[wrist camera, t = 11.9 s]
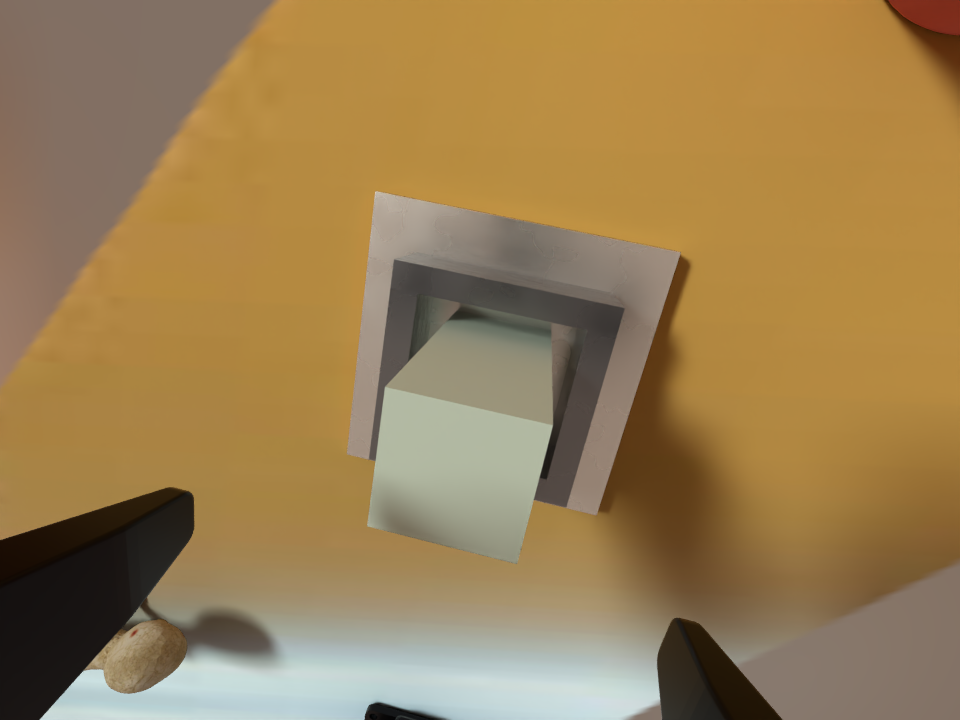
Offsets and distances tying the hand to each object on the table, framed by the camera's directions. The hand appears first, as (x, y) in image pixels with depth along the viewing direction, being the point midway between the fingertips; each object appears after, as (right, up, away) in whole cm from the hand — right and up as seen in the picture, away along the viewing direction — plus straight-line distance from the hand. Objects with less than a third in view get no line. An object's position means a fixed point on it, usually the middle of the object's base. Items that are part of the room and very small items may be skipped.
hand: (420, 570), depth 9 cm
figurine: (-21, -12, +21) cm, 32 cm away
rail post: (+2, +4, +12) cm, 12 cm away
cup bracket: (+2, +4, +12) cm, 13 cm away
